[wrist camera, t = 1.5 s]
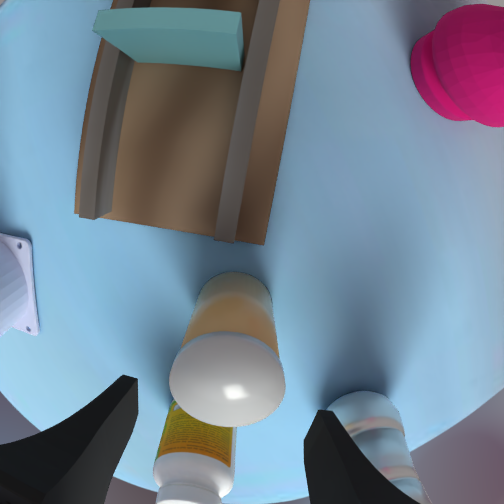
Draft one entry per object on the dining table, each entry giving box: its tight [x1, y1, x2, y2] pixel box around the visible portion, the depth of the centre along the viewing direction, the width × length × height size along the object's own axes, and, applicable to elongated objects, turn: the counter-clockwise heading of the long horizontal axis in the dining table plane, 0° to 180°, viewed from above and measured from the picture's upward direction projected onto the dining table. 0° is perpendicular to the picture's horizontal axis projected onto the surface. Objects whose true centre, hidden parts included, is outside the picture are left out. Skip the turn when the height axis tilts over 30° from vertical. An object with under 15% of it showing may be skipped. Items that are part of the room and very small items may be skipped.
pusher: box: [92, 7, 244, 71], centre depth 12 cm, size 6×1×6 cm, turn 80°
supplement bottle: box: [153, 399, 237, 504], centre depth 19 cm, size 5×5×10 cm
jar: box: [169, 272, 285, 427], centre depth 17 cm, size 5×5×8 cm
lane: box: [74, 0, 310, 245], centre depth 14 cm, size 12×17×4 cm
